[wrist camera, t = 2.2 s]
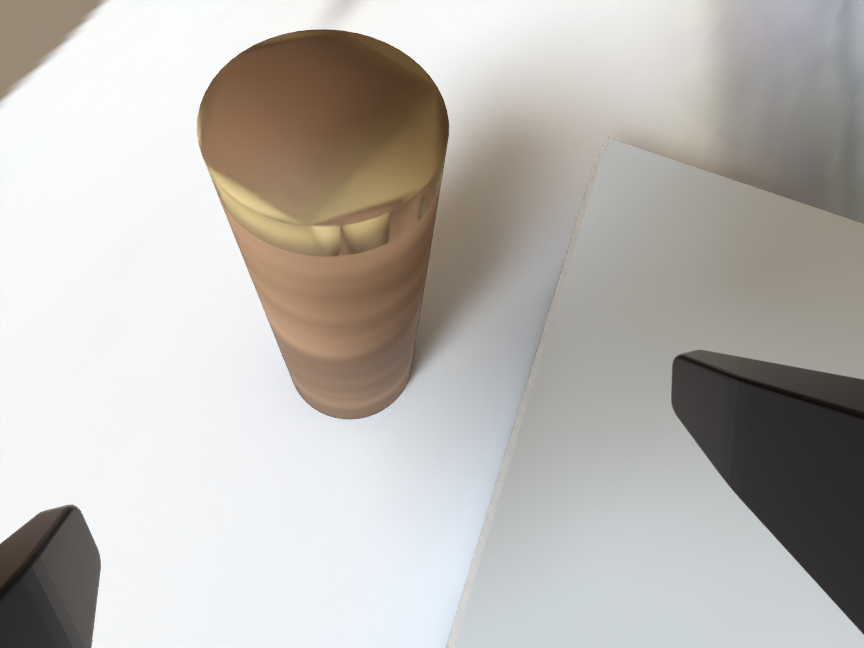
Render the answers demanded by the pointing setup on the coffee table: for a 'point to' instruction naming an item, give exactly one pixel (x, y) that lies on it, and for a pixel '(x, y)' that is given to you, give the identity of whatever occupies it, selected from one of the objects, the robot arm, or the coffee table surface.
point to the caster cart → (660, 422)
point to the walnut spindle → (331, 203)
